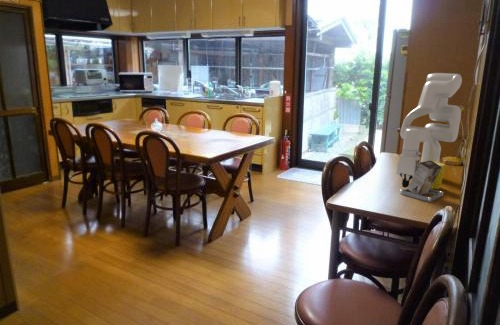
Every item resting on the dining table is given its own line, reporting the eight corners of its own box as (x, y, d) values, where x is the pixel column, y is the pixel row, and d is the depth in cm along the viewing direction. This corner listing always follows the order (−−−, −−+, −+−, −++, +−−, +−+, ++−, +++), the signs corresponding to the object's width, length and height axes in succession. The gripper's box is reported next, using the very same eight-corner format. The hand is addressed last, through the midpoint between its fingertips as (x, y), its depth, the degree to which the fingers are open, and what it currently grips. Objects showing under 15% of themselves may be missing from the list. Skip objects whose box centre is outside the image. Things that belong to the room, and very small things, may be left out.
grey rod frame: (413, 188, 196) (414, 184, 195) (443, 195, 185) (443, 191, 184) (399, 193, 186) (400, 189, 185) (429, 202, 175) (430, 198, 174)
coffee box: (417, 186, 193) (431, 160, 185) (428, 193, 188) (442, 166, 180) (406, 188, 188) (420, 161, 180) (417, 196, 183) (431, 168, 175)
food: (431, 187, 204) (442, 193, 195) (412, 182, 202) (423, 189, 192) (442, 161, 200) (454, 167, 191) (423, 156, 198) (434, 162, 188)
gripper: (428, 154, 186) (422, 189, 190) (399, 149, 196) (394, 182, 201) (421, 156, 181) (416, 192, 185) (392, 150, 191) (388, 184, 196)
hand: (405, 186), depth 193 cm, fingers closed
